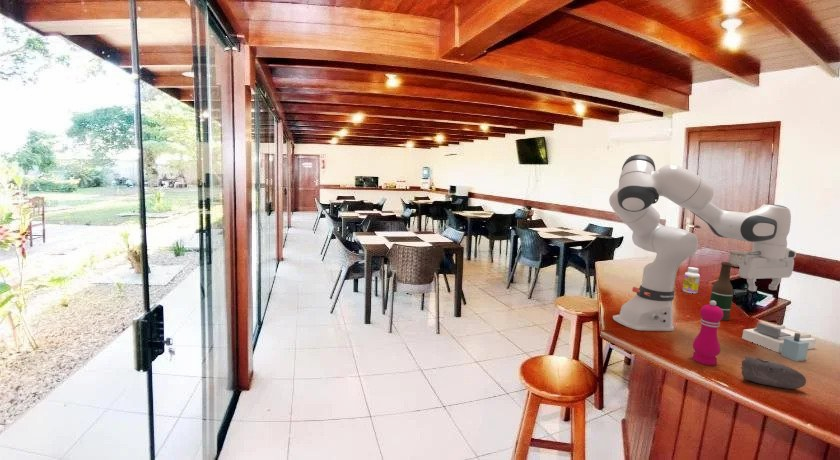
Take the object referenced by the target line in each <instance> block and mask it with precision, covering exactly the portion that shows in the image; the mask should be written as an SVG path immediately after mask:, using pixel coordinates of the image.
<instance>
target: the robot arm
mask: <svg viewBox="0 0 840 460" xmlns="http://www.w3.org/2000/svg"><path fill="white" fill-rule="evenodd" d="M620 172H621V173H620V176H619V179H618V188H616V189H615V190H613V191H612V192H611V194H610V196H609V200H608V202H609V205H610V207H611V208H612V210H613V211H614V212H615V214H616V216H617V217H618V218H619V219H620V220H621V221H622V222H623V223H624V224H625V225H626V226H627V227H628V228H629V229H630V230H631V232H632V236H631V239H632V242H633V244H634V245H635V246H637V247H638V248H640V249H642V250H644V251H647V252H650V253H655V254H656V255H655V258H654V260H653V261H652V262H649V263H647V264H645V266H644V268H643V271H642V272H643V273H642V278H641V285H639V287H636V286H633V287H632V288H631V291H632V292H633V293H636V294H635V295H634V296H633V297H632V298H630V299H628V301H625V303H623V304H622V305H621V307H620V311H619V314H615V315H612V319H613V320H614V321H615V322H616V323H618V324H620V325H623V326H625V327H626V328H629V329H632V330H636V331H646V332H647V331H648V332H649V331H654V332H655V331H657V332H661V331H662V332H664V331H665V332H668V331H669V332H674V331H675V327H674V308H673V307H674V306H673V301H674V300H675V299H674V297H675V290H674V288H675V283H676V276H677V272H678V270H679V268H680V266H681V264H683V262H684V261H685V260H686V259H688V258H690V257H693V256H694V255H695V253H696V252H697V250H698V248H699V239H698V237H697V235H696V234H695V233H693V232H691V231H688V230H687V229H686V230H685V229H683V228H679V227H678V228H677V227H672V226H667V225H663V224H662V223H660V220H661V216H660V212H659V211H658V210H657V209H656V208H655V207H654V206H653V205H654V204H656V203H658V201H659V200H660V199H659V198H660V197H664V198H666V199H668V200H669V201H671V202H672V203H674V204H676V205H677V206H679V207H680V208H684V209H685V210H687V211H689V212H691V213H692V214H694V215H695V216H696V217H698V218H699V219H701V220H702V221H704V222H705V223H706V225H707V226H708V227H709V228H710V230H711V232H712V233H713V234H714V235H716V236H717V237H719V238H724V239H726V238H727V239H732V240H736V241H742V242H749V243H753V244H752V249H751V251H747V254H746V255H745V256H744V258H743V259H742V261H741V265H740V268H738V269H739V270H738V276H739V277H740V278H743V279H746V283H747V284H748V285H747V286H748V291H751V292H757V289H758V286H756V283H755V282H757V279H761V280H762V279H771V280H772V281H771V282H770V283H769V284H768V290H771V291H777V290H778V286H779V285H780V283H781V281H782V279H783V278H787V279H788V278H790V277H791V276H792V275H793V272H794V266H795V260H794V259H795V258H796V257H797V251H795V250H792V249H790V248H788V240H787V239H788V238H787V237H788V235H789V233H790V231H791V223H792V222H791V221H792V220H791V219H792V214H791V210H790V208H788V207H787V206H784V205H781V204H773V203H763V204H762V205H761V206H760V207H759V208H756V209H755V210H751V211H749V212H741V211H734V210H729V209H721V208H719V207H718V206H717V205H715V204H714V203H713V202H711V201H712V199H713V197H714V187H713V186H712V185H711V184H710V182H708V180H706V179H704V178H703V177H701V176H699V175H698V174H696V173H694V172H693V171H692V170H689V169H688V168H687V169H686V168H684V167H682V166H679V165H676V164H671V163H669V164H666V165H663V166H661V167H660V168H659V169H658V170H656V164H655V161H654V160H653V158H651V157H650V156H648V155H646V154H634V155H631V156H629V157H628V158H627V159H625V161H624V163H623V165H622V167H621V171H620Z"/></svg>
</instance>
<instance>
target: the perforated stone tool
mask: <svg viewBox="0 0 840 460" xmlns="http://www.w3.org/2000/svg"><path fill="white" fill-rule="evenodd" d="M740 369H741V375H742V378H743V379H744V380H746V381H750V382H754V383H756V384H759V385H764V386H771V387H776V388H780V389H788V390H797V389H800V388H803V387H804V386H806V383H807V379H806V376H804V375H803V374H802V373H801V372H799V371H798V370H796V369H794V368H792V367H789V366H787V365H784V364H782V363H778V362H774V361H770V360H765V359H762V358H758V357H753V356H748V355H745V356H744V359H743V360H742V361H741V367H740Z"/></svg>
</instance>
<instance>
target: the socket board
mask: <svg viewBox="0 0 840 460" xmlns="http://www.w3.org/2000/svg"><path fill="white" fill-rule="evenodd" d="M772 327H775V328H778V329H781V332H784V333H787V334H790V335H791V336H784V337H778V338H774V337H771V336H769V335H766V334H763V333H760V332H758V331H756V329H757V327H754V328H747V329H743V331H742V335H741V336H742V337H741V339H742V340H745V341H748V342H750V343H752V342H753V343H752V344H755V345H757V344H758V345H757V346H760V345H761V346H760V347H762V346H764V347H763V348H765V347H766V348H765V349H767V348H768V350H770V349H771V351H772V352H775V353H782V348H783V343H784V338H794V335H795V333H797V332H796V331H792V330H789V329H786V326H785V325H777V326H776V325H775V326H772ZM800 334H801V335H800V340H802V341H805V342H808V343H809V345H808V350H813V349H815V346H816V342H817V341H816V340H817V339H816V338H814V337H811V336H812V334H810V333H807V334H802V333H800Z"/></svg>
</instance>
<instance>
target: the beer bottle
mask: <svg viewBox="0 0 840 460" xmlns="http://www.w3.org/2000/svg"><path fill="white" fill-rule="evenodd" d="M720 265H721V268H720V272H719V275H718V279H717V280H716V281H715V282H714V283H713V285H712V287H711V292H710V300H709V302H710V301H712V300H714V301H716V303H717V304H716V305H715V306H718V307H719V308H721V309H722V311H723V318H722V319H721V320H720V321H729V320H730V316H731V309H732V304H733V303H732V302H733V297H734V289H733V288H734V287H733V285H732V283H731V281H730V280H731V268H732V267H733V266H732V264H731V263H729V261H721V263H720ZM708 305H710V303H709V304H708Z"/></svg>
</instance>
